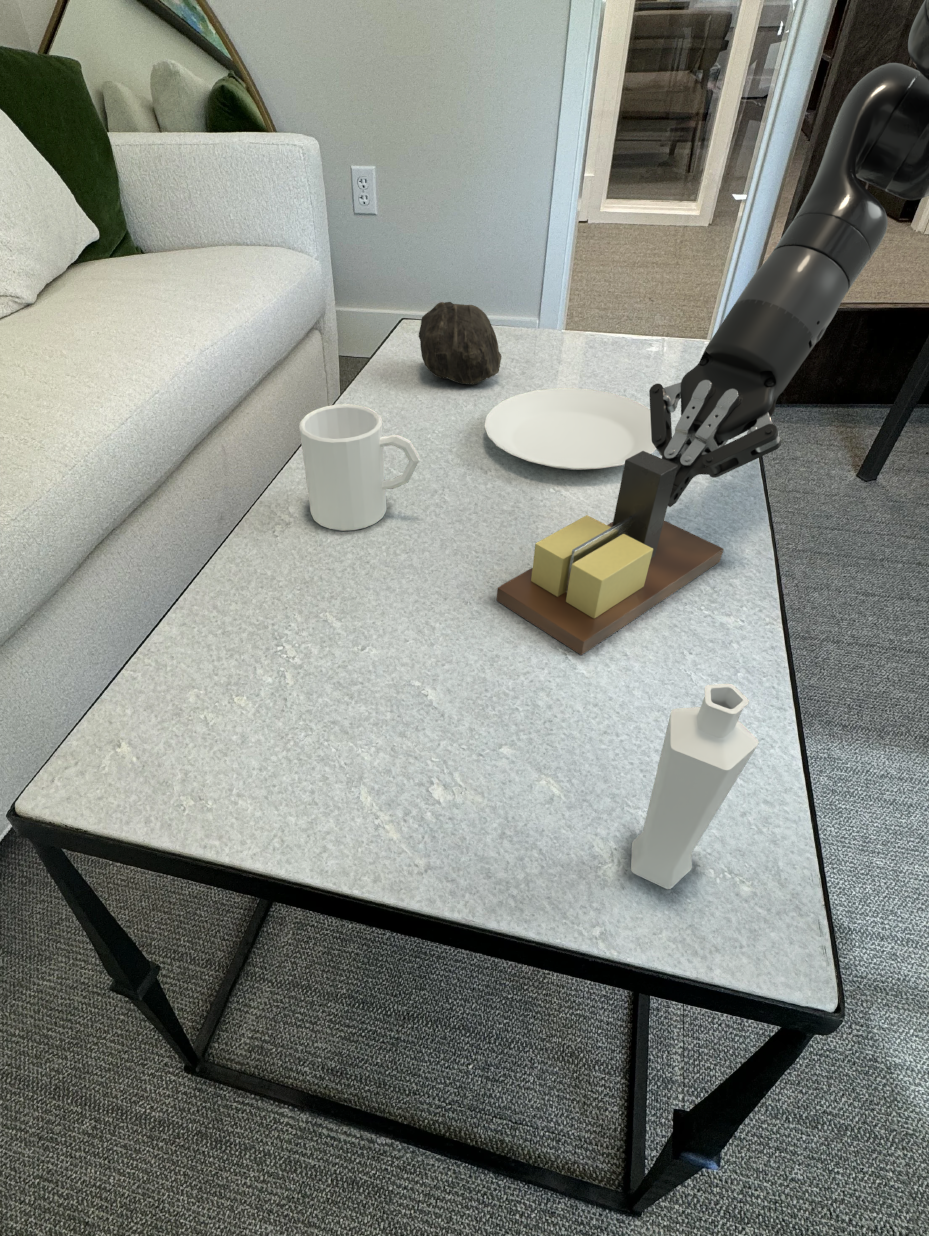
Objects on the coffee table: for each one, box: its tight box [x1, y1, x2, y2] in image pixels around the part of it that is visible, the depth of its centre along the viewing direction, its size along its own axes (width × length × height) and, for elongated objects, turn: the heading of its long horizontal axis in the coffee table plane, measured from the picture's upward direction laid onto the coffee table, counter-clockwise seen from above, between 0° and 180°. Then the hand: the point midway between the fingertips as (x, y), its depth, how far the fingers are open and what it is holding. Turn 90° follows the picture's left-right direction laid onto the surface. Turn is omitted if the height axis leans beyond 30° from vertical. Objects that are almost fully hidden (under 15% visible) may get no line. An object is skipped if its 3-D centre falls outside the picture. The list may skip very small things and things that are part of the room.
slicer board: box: [496, 520, 725, 656], centre depth 67 cm, size 20×10×2 cm, turn 130°
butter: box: [531, 514, 653, 619], centre depth 64 cm, size 7×7×4 cm
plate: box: [483, 387, 657, 471], centre depth 86 cm, size 21×21×2 cm
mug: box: [298, 403, 421, 532], centre depth 74 cm, size 8×12×10 cm
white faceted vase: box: [630, 683, 760, 890], centre depth 41 cm, size 5×4×15 cm
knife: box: [565, 451, 678, 593], centre depth 62 cm, size 10×4×9 cm, turn 130°
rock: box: [418, 301, 502, 385], centre depth 99 cm, size 10×11×10 cm
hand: (653, 504), depth 65 cm, fingers closed
